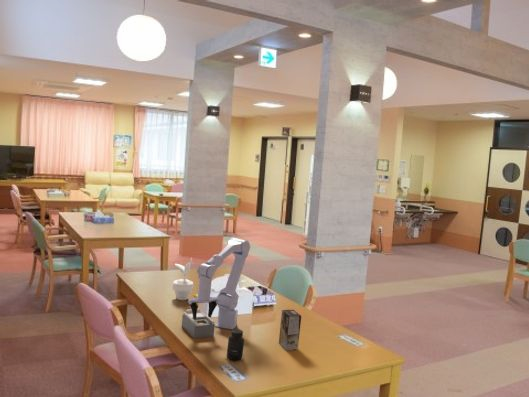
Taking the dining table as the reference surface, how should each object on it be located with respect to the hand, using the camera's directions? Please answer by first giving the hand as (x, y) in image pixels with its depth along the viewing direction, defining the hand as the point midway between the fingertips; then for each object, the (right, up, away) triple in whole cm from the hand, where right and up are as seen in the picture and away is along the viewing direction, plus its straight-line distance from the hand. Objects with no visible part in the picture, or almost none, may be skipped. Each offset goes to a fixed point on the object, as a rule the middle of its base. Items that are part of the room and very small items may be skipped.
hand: (202, 317), depth 231 cm
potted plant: (-18, -2, +51) cm, 55 cm away
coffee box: (+40, -13, -3) cm, 42 cm away
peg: (-1, -8, +1) cm, 8 cm away
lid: (-4, -1, +7) cm, 8 cm away
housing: (-3, -7, +4) cm, 9 cm away
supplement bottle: (+17, -12, -22) cm, 30 cm away
